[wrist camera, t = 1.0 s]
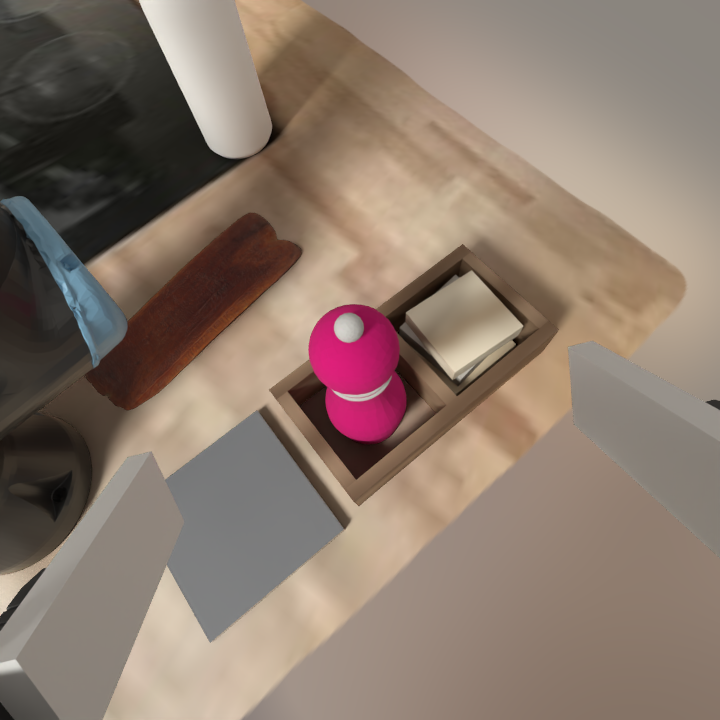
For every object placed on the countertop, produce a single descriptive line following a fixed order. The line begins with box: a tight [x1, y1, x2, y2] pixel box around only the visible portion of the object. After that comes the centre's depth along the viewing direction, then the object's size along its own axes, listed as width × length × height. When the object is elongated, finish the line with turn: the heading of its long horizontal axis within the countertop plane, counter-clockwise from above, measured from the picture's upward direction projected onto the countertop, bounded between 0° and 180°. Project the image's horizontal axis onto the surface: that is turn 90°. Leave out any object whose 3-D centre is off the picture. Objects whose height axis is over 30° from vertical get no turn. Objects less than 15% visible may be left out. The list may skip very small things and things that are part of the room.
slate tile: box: [165, 411, 345, 643], centre depth 41 cm, size 14×14×1 cm
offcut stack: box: [399, 270, 523, 396], centre depth 44 cm, size 9×9×6 cm
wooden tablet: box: [85, 213, 301, 410], centre depth 51 cm, size 27×10×2 cm, turn 138°
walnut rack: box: [269, 244, 559, 506], centre depth 43 cm, size 12×24×5 cm, turn 129°
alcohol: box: [139, 0, 272, 159], centre depth 46 cm, size 9×9×30 cm
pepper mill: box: [309, 304, 407, 444], centre depth 35 cm, size 7×7×20 cm
